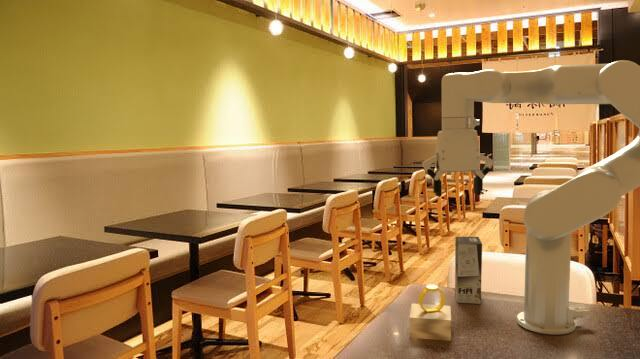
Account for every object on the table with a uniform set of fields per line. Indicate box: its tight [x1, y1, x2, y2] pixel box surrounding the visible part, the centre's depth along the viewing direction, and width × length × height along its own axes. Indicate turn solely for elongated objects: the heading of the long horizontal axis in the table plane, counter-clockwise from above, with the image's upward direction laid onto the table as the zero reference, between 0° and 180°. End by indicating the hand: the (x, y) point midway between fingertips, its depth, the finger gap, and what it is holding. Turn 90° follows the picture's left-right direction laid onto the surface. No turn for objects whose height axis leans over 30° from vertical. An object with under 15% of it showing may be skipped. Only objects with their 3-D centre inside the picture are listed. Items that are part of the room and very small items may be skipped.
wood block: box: [408, 302, 452, 342], centre depth 119 cm, size 9×9×5 cm
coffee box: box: [454, 236, 483, 305], centre depth 140 cm, size 9×6×16 cm
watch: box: [418, 284, 446, 313], centre depth 118 cm, size 6×3×6 cm, turn 103°
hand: (457, 195), depth 127 cm, fingers open, 9 cm apart
